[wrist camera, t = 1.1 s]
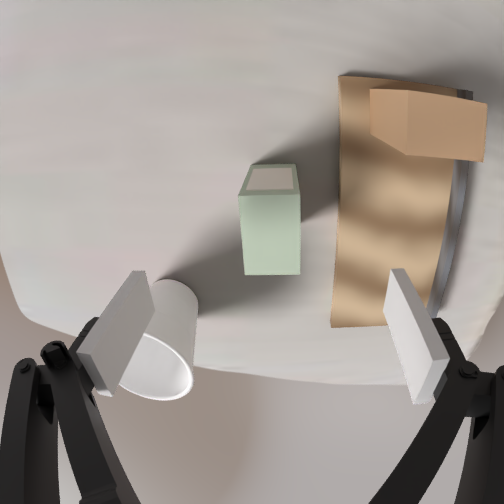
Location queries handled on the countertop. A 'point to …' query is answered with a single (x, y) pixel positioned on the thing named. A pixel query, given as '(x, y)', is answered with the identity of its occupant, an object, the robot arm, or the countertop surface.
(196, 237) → the countertop surface
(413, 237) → the wavy tan tray
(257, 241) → the carton
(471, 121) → the faced carton
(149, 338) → the cup
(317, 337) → the countertop surface
